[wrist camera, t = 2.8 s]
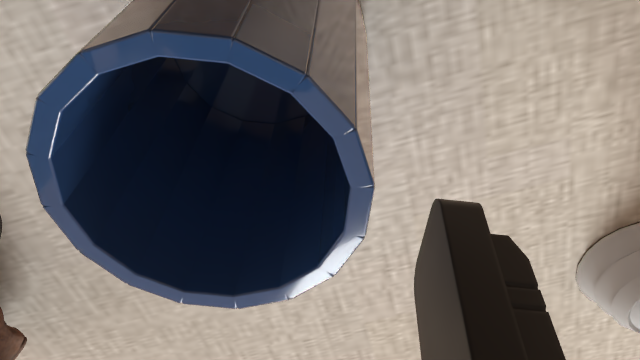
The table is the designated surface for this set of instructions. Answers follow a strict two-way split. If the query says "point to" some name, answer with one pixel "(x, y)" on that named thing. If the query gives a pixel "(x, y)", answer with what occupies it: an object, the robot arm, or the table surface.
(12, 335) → the broken pottery
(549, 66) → the table surface
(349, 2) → the cup
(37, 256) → the table surface
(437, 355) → the robot arm
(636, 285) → the chalice
